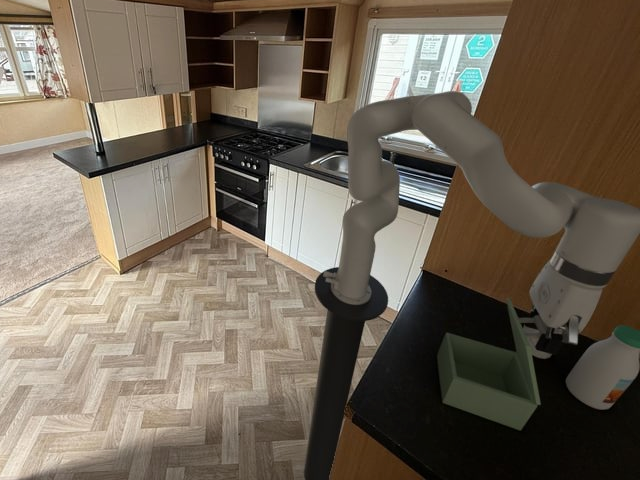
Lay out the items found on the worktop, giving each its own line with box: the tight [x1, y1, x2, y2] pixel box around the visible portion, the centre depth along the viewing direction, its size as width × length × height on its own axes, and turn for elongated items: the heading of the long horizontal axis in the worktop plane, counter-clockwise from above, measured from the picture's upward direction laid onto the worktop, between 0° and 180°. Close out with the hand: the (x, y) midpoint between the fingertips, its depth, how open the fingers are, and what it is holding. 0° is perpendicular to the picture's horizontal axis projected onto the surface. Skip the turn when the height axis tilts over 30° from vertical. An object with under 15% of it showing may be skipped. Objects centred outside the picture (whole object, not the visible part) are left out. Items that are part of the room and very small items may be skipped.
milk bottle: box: [565, 324, 640, 411], centre depth 68 cm, size 8×8×20 cm
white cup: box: [522, 309, 565, 360], centre depth 81 cm, size 8×8×10 cm
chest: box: [436, 332, 538, 432], centre depth 71 cm, size 15×13×9 cm
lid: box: [505, 297, 548, 406], centre depth 63 cm, size 15×13×5 cm
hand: (539, 338), depth 62 cm, fingers closed on lid, 5 cm apart
